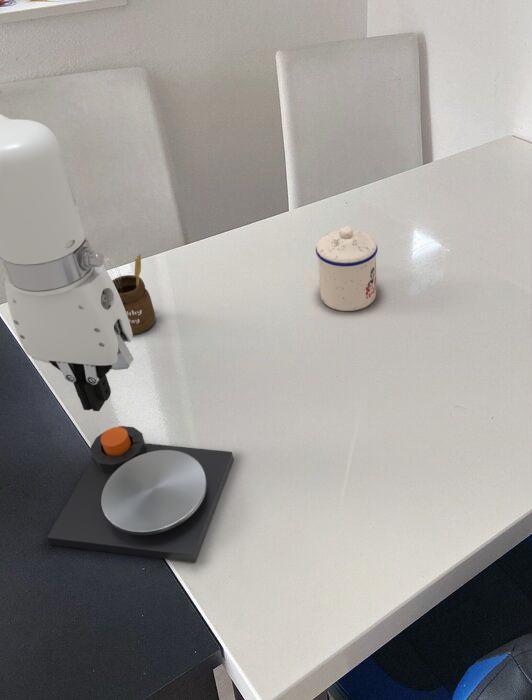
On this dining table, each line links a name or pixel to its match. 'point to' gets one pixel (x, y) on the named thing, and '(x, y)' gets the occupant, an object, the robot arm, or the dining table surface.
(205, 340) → the dining table surface
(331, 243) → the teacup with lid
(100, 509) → the scale
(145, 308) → the utensil holder
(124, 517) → the brushed metal disc
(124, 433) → the tare button
